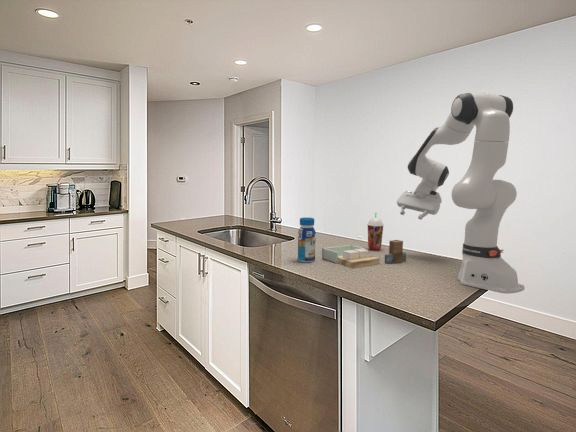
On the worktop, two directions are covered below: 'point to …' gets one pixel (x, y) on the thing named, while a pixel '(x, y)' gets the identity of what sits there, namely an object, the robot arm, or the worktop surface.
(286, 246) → the worktop surface
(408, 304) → the worktop surface
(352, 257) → the tile
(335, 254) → the tray
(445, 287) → the worktop surface
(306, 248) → the beverage bottle
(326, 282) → the worktop surface
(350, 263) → the board
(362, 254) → the tile
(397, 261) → the stacked block structure
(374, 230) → the smoothie
